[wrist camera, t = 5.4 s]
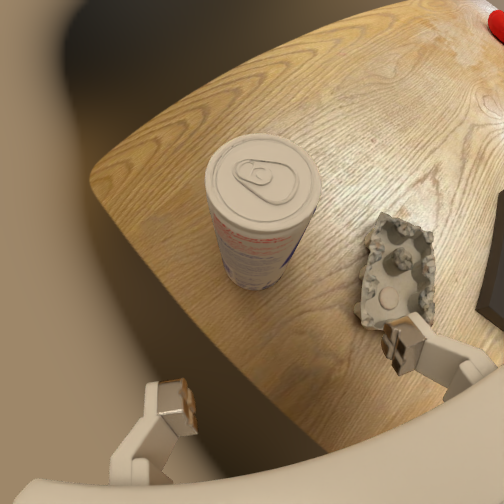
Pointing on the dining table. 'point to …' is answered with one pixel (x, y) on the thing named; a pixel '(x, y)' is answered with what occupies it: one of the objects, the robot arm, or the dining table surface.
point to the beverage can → (260, 205)
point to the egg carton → (397, 274)
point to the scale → (494, 274)
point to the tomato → (497, 24)
